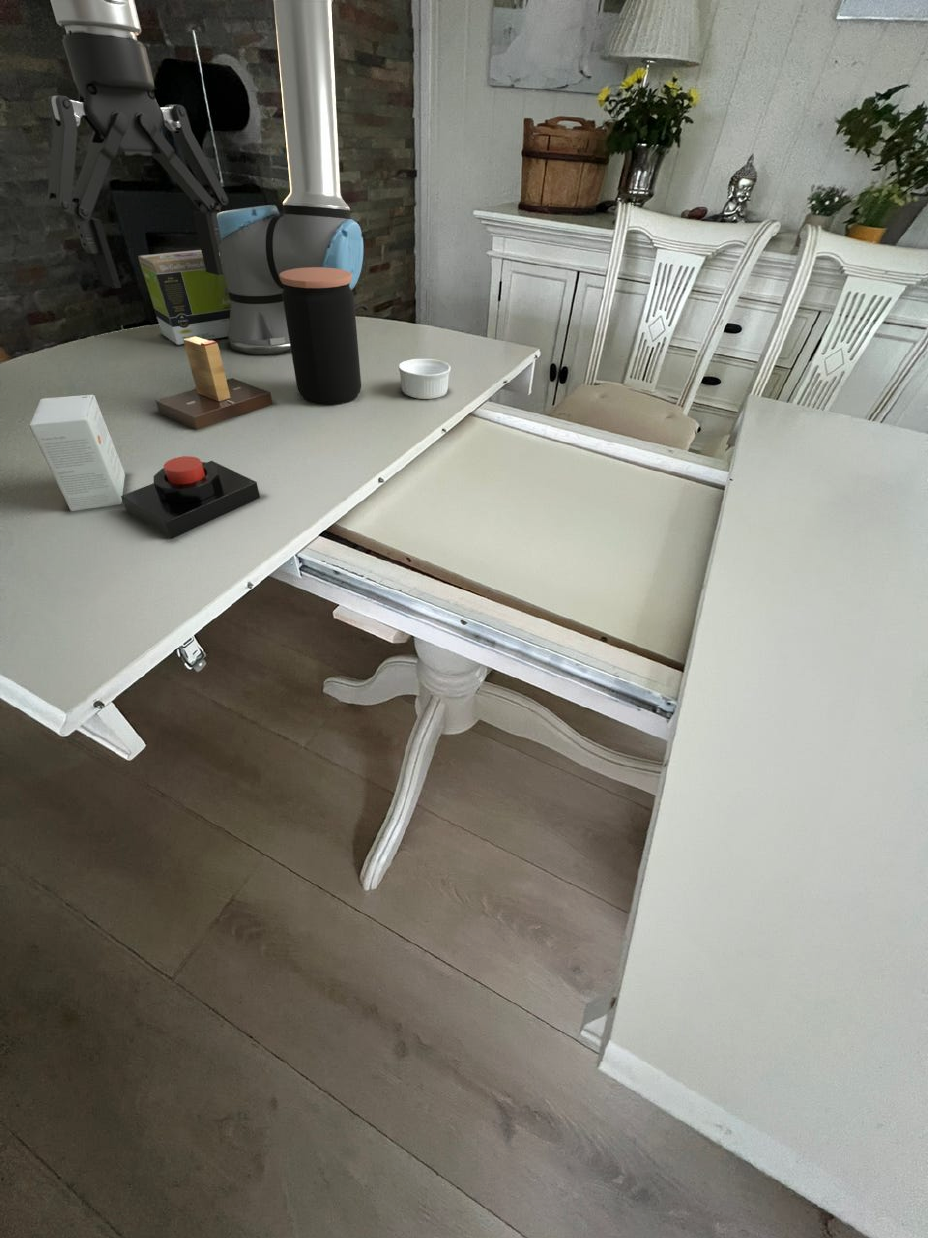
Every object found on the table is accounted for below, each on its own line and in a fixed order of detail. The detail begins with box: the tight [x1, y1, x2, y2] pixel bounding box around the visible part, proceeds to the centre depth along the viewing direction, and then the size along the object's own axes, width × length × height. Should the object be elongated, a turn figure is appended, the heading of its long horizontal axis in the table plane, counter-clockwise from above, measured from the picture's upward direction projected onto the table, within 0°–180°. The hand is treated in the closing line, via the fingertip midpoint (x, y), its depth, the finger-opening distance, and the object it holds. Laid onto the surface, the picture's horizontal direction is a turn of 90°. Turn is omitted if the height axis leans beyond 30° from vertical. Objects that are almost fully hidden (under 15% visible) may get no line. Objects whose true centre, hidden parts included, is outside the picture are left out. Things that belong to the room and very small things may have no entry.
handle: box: [183, 336, 231, 402], centre depth 87 cm, size 6×2×8 cm, turn 53°
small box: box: [28, 394, 126, 512], centre depth 66 cm, size 8×6×10 cm
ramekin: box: [398, 358, 452, 400], centre depth 98 cm, size 9×9×4 cm
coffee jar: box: [279, 267, 362, 406], centre depth 91 cm, size 11×11×18 cm
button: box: [163, 455, 205, 485], centre depth 65 cm, size 4×4×2 cm
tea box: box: [137, 249, 231, 346], centre depth 116 cm, size 15×10×15 cm, turn 129°
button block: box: [121, 460, 261, 540], centre depth 67 cm, size 12×9×4 cm
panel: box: [155, 377, 274, 431], centre depth 90 cm, size 14×10×2 cm
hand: (166, 279), depth 70 cm, fingers open, 13 cm apart
